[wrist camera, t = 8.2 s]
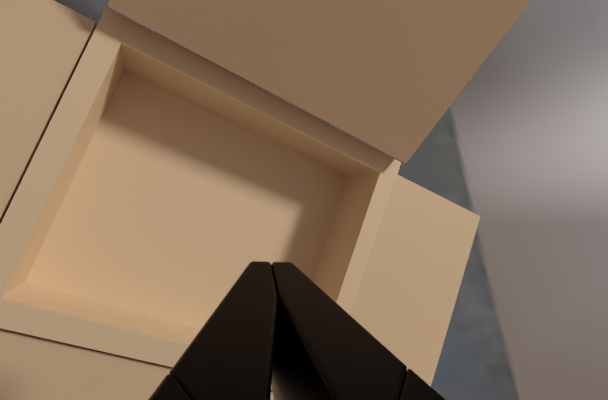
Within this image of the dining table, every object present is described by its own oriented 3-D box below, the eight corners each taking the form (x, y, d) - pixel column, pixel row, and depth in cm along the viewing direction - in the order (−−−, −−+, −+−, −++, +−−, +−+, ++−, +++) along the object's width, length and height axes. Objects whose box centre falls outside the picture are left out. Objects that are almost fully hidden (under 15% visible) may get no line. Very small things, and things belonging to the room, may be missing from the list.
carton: (343, 521, 19) (378, 576, 16) (-317, 454, 11) (-474, 539, 8) (440, 206, 21) (485, 206, 18) (-43, -34, 13) (-92, -96, 11)
